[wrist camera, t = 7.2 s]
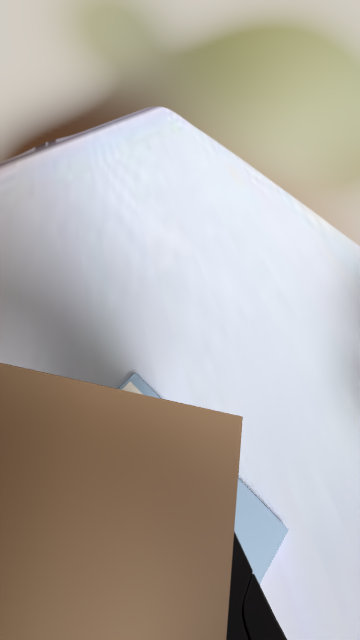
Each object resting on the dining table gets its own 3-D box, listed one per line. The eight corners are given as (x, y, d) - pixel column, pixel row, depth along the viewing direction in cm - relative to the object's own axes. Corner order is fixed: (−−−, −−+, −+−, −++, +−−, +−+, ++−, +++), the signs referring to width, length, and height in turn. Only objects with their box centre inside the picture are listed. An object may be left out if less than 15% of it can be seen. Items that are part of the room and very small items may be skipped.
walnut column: (153, 531, 13) (193, 1079, 2) (59, 512, 13) (-471, 989, 2) (173, 429, 15) (242, 416, 4) (93, 411, 15) (-52, 351, 4)
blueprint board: (55, 956, 10) (51, 981, 9) (-120, 615, 13) (-130, 622, 12) (285, 527, 17) (289, 530, 16) (135, 373, 20) (135, 372, 19)
